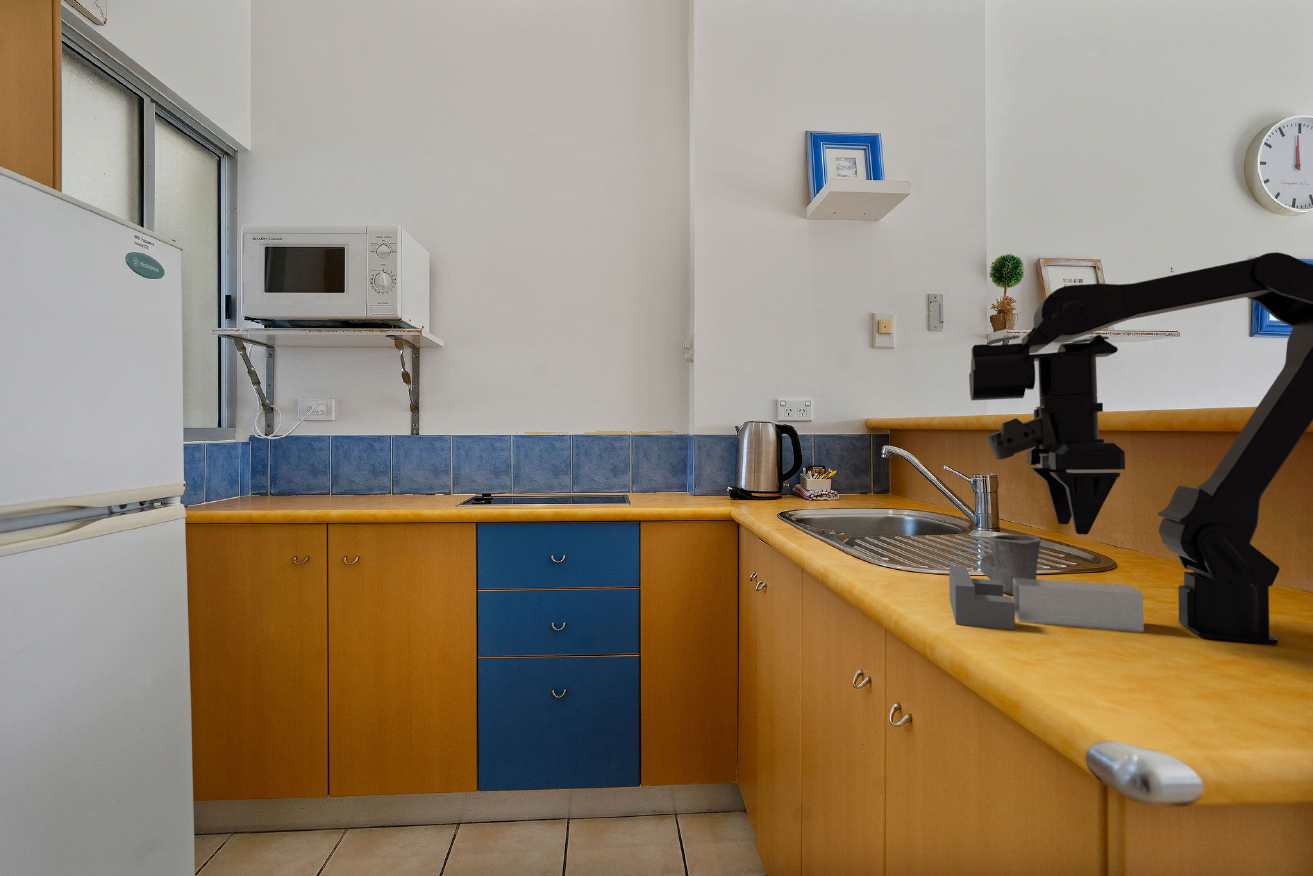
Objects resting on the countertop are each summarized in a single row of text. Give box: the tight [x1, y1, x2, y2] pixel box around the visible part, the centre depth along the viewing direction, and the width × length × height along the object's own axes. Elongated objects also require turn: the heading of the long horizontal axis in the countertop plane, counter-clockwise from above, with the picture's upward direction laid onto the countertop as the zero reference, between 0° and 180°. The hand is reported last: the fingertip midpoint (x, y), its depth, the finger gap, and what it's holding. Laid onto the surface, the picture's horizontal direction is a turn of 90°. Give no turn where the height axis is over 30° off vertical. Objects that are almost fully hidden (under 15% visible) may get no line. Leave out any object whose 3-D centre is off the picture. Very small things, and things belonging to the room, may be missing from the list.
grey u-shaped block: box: [948, 565, 1016, 630], centre depth 78 cm, size 6×12×4 cm, turn 158°
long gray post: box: [1012, 578, 1144, 633], centre depth 74 cm, size 12×4×4 cm, turn 68°
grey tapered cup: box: [979, 534, 1042, 596], centre depth 90 cm, size 6×13×8 cm, turn 174°
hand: (1072, 528), depth 74 cm, fingers open, 9 cm apart
